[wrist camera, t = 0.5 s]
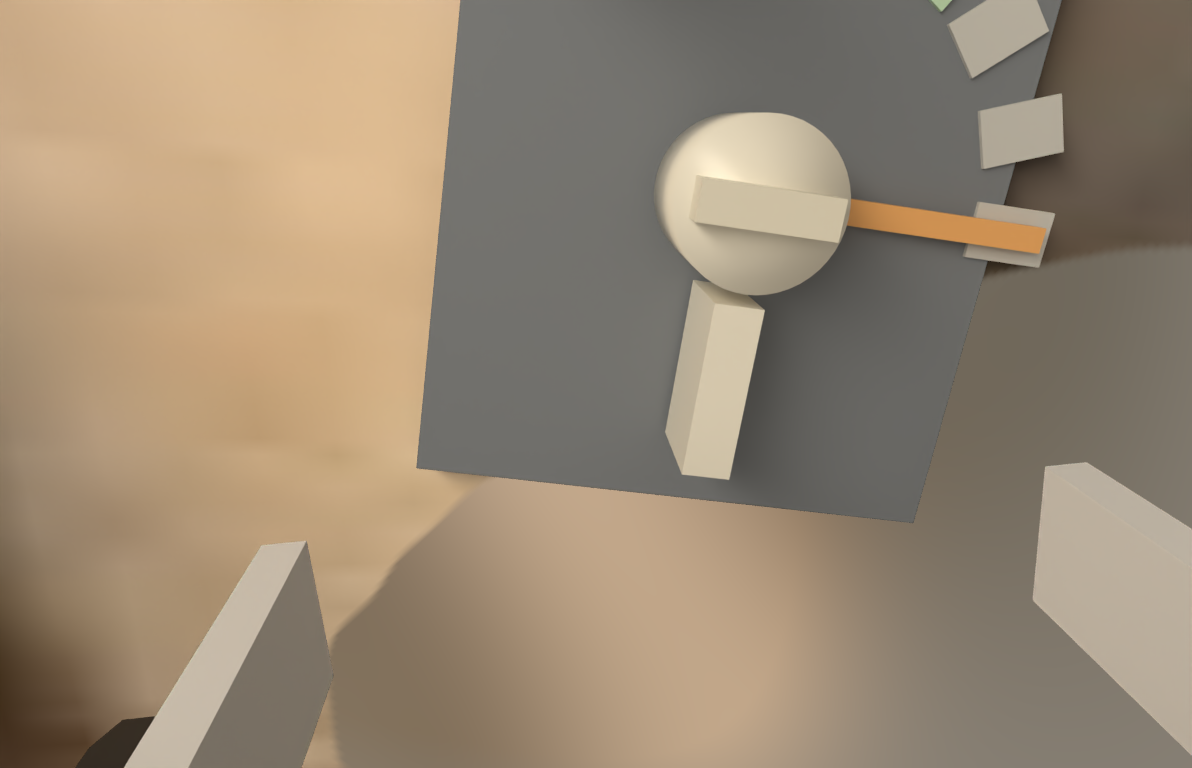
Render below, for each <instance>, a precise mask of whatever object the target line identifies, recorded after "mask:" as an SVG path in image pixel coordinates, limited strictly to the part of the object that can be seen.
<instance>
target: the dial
mask: <svg viewBox="0 0 1192 768" xmlns="http://www.w3.org/2000/svg"><path fill="white" fill-rule="evenodd" d="M654 204H655V211H656V215H657V219H658V222H659V224H660V227H661V229H662V231H663V233H664V234H665V236H666V238H667V239H668V241H669V242H670V243H671V244H672V246H673V247H674V248H675V249H676V250H677V251H678V252H679V253H680V254H681V255H682V256H683V257H684V258H685V259H686V260H687V261H688V262H689V263H690V264H691V265H692V266H693V267H694V268H695V269H696V270H697V271H698V272H699V273H700V274H701V275H703V276H704V277H705V278H706V279H708V280H709V281H711V282H705V281H698V280H693V283H692V289H691V294H690V299H689V305H688V310H687V316H686V321H685V327H684V332H683V338H682V343H681V348H680V354H679V359H678V365H677V370H676V376H675V381H674V387H673V392H672V397H671V403H670V408H669V414H668V419H667V425H666V430H665V433H666V436H667V438H668V441H669V443H670V446H671V448H672V451H673V453H674V456H675V458H676V461H677V463H678V466H679V468H680V471H681V474H682V475H691V476H700V477H709V478H718V479H726V480H729V478H730V473H731V469H732V464H733V459H734V454H735V450H736V445H737V440H738V435H739V431H740V426H741V421H742V416H743V412H744V407H745V402H746V397H747V393H748V388H749V383H750V378H751V374H752V369H753V364H754V359H755V355H756V350H757V345H758V340H759V336H760V331H761V326H762V321H763V317H764V312H765V310H764V309H763V308H762V307H761V306H759V305H758V304H757V303H756V302H755V301H754V300H753V299H751V298H750V297H749V296H748V295H768V294H773V293H778V292H782V291H785V290H788V289H790V288H792V287H795V286H797V285H799V284H801V283H802V282H804V281H805V280H807V279H809V278H810V277H811V276H812V275H814V274H815V273H816V272H817V271H819V270H820V269H821V268H822V267H823V266H824V264H825V263H826V262H827V261H828V260H829V259H830V257H831V256H832V255H833V253H834V252H835V250H836V249H837V247H838V245H839V243H840V242H841V239H842V237H843V235H844V232H845V230H846V226H854V227H860V228H867V229H874V230H881V231H887V232H894V233H901V234H908V235H915V236H921V237H928V238H935V239H942V240H948V241H955V242H962V243H969V244H976V245H982V246H989V247H996V248H1003V249H1010V250H1016V251H1023V252H1030V253H1037V254H1039V253H1040V249H1041V246H1042V243H1043V239H1044V236H1045V233H1046V228H1042V227H1037V226H1030V225H1023V224H1017V223H1010V222H1004V221H997V220H990V219H984V218H977V217H970V216H964V215H957V214H951V213H944V212H937V211H931V210H924V209H918V208H911V207H904V206H898V205H891V204H884V203H878V202H871V201H865V200H858V199H851V190H850V182H849V177H848V173H847V170H846V167H845V164H844V162H843V160H842V158H841V156H840V154H839V152H838V151H837V149H836V148H835V146H834V145H833V144H832V142H831V141H830V140H829V139H828V138H827V137H826V136H825V135H824V134H823V133H822V132H821V131H819V130H818V129H817V128H815V127H814V126H813V125H811V124H809V123H807V122H806V121H804V120H801V119H799V118H796V117H794V116H790V115H785V114H781V113H752V112H735V113H723V114H718V115H714V116H711V117H708V118H705V119H703V120H701V121H699V122H697V123H695V124H693V125H692V126H690V127H689V128H687V129H686V130H685V131H684V132H683V133H682V134H680V135H679V136H678V137H677V139H676V140H675V141H674V142H673V143H672V144H671V146H670V147H669V149H668V150H667V152H666V153H665V155H664V157H663V159H662V161H661V163H660V166H659V169H658V171H657V176H656V180H655V187H654Z"/></svg>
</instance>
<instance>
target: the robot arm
mask: <svg viewBox="0 0 1192 768" xmlns="http://www.w3.org/2000/svg"><path fill="white" fill-rule="evenodd" d="M1033 601H1034V602H1035V603H1036V604H1037V605H1038V606H1039V607H1040V608H1041V609H1042V610H1043V611H1044V612H1045V613H1046V614H1047V615H1048V616H1049V617H1051V619H1052V620H1053V621H1054V622H1055V623H1057V625H1058V626H1060V627H1061V628H1062V629H1063V630H1064V631H1065V632H1066V633H1067V634H1068V635H1069V636H1070V637H1071V638H1072V639H1073V640H1074V641H1075V642H1076V643H1077V644H1078V645H1079V646H1080V647H1081V648H1082V649H1083V650H1084V651H1085V652H1086V653H1087V654H1088V655H1089V656H1090V657H1091V658H1092V659H1093V660H1094V661H1095V662H1096V663H1097V664H1098V665H1099V666H1101V667H1102V668H1103V669H1104V670H1105V671H1106V672H1107V673H1108V674H1109V675H1110V676H1111V677H1112V678H1113V679H1114V680H1115V681H1116V682H1117V683H1118V684H1119V685H1120V686H1121V687H1122V688H1123V689H1124V690H1125V691H1126V692H1127V693H1128V694H1129V695H1130V696H1131V697H1132V698H1133V699H1134V700H1135V701H1137V703H1138V704H1140V705H1141V707H1142V708H1144V709H1145V710H1146V711H1147V712H1148V713H1149V714H1150V715H1151V716H1152V717H1153V718H1154V719H1155V720H1156V721H1157V722H1158V723H1159V724H1160V725H1161V726H1162V727H1163V728H1164V729H1165V730H1166V731H1167V732H1168V733H1169V734H1170V735H1171V736H1172V737H1173V738H1174V739H1175V740H1176V741H1177V742H1178V743H1180V744H1181V746H1182V747H1184V749H1186V751H1188V752H1189V753H1190V754H1191V755H1192V529H1191V528H1189V527H1188V526H1186V525H1185V524H1183V523H1181V522H1180V521H1178V520H1177V519H1175V518H1174V517H1172V516H1171V515H1169V514H1167V513H1166V512H1164V511H1163V510H1161V509H1159V508H1158V507H1156V506H1155V505H1153V504H1151V503H1150V502H1148V501H1147V500H1145V499H1144V498H1142V497H1140V496H1139V495H1137V494H1136V493H1134V492H1133V491H1131V490H1130V489H1128V488H1126V487H1125V486H1123V485H1121V484H1120V483H1118V482H1117V481H1115V480H1114V479H1112V478H1111V477H1109V476H1107V475H1106V474H1104V473H1103V472H1101V471H1100V470H1098V469H1096V468H1095V467H1093V466H1092V465H1090V464H1088V463H1087V462H1086V463H1076V464H1065V465H1055V466H1046V467H1045V475H1044V485H1043V496H1042V506H1041V517H1040V527H1039V538H1038V548H1037V559H1036V569H1035V580H1034V591H1033ZM333 676H334V675H333V670H332V665H331V660H330V655H329V650H328V645H327V640H326V635H325V630H324V625H323V620H322V615H321V610H320V605H319V600H318V595H317V590H316V585H315V580H314V575H313V571H312V566H311V561H310V556H309V551H308V546H307V541H299V542H289V543H279V544H269V545H261V547H260V549H259V550H258V552H257V553H256V555H255V557H254V558H253V560H252V561H251V563H250V565H249V566H248V568H247V570H246V571H245V573H244V574H243V576H242V578H241V579H240V581H239V582H238V584H237V586H236V587H235V589H234V591H233V592H232V594H231V595H230V597H229V599H228V600H227V602H226V603H225V605H224V607H223V608H222V610H221V612H220V613H219V615H218V616H217V618H216V620H215V621H214V623H213V624H212V626H211V628H210V629H209V631H208V633H207V634H206V636H205V637H204V639H203V641H202V642H201V644H200V645H199V647H198V649H197V650H196V652H195V654H194V655H193V657H192V658H191V660H190V662H189V663H188V665H187V666H186V668H185V670H184V671H183V673H182V675H181V676H180V678H179V679H178V681H177V683H176V684H175V686H174V687H173V689H172V691H171V692H170V694H169V696H168V697H167V699H166V700H165V702H164V704H163V705H162V707H161V708H160V710H159V712H158V713H157V715H156V716H154V717H145V718H136V719H127V720H122V721H121V722H120V723H118V724H117V725H116V726H115V727H114V728H112V729H111V730H110V731H109V732H108V733H106V734H105V735H104V736H103V737H102V738H100V739H99V740H98V741H97V742H96V743H95V744H93V745H92V746H91V747H90V748H89V749H88V750H87V752H86V753H85V755H84V756H83V757H82V759H81V760H80V762H79V763H78V765H77V766H76V767H75V768H301V767H302V765H303V762H304V759H305V756H306V753H307V750H308V747H309V745H310V742H311V739H312V736H313V733H314V730H315V727H316V724H317V722H318V719H319V716H320V713H321V710H322V707H323V704H324V702H325V699H326V696H327V693H328V690H329V687H330V684H331V681H332V679H333Z"/></svg>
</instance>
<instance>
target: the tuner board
mask: <svg viewBox="0 0 1192 768" xmlns="http://www.w3.org/2000/svg"><path fill="white" fill-rule="evenodd" d="M1061 1H1062V0H461V1H460V12H459V22H458V33H457V43H456V54H455V65H454V75H453V86H452V96H451V107H450V118H449V128H448V139H447V149H446V160H445V171H444V181H443V192H442V202H441V213H440V224H439V234H438V245H437V255H436V266H435V277H434V287H433V298H432V308H431V319H430V330H429V340H428V351H427V361H426V372H425V383H424V393H423V404H422V414H421V425H420V436H419V446H418V457H417V467H416V468H419V469H428V470H437V471H446V472H455V473H464V474H473V475H483V476H492V477H501V478H510V479H519V480H528V481H537V482H546V483H556V484H564V485H573V486H583V487H591V488H600V489H609V490H619V491H628V492H637V493H646V494H655V495H664V496H674V497H682V498H691V499H700V500H709V501H719V502H727V503H737V504H746V505H755V506H764V507H773V508H782V509H791V510H800V511H810V512H818V513H827V514H836V515H845V516H855V517H863V518H873V519H882V520H891V521H900V522H909V523H913V522H914V519H915V515H916V512H917V508H918V504H919V501H920V498H921V494H922V490H923V487H924V484H925V480H926V476H927V473H928V469H929V466H930V463H931V459H932V456H933V452H934V448H935V445H936V441H937V438H938V434H939V431H940V427H941V424H942V420H943V417H944V413H945V410H946V406H947V403H948V399H949V396H950V392H951V389H952V385H953V381H954V378H955V374H956V371H957V367H958V364H959V360H960V357H961V353H962V350H963V346H964V343H965V339H966V336H967V332H968V329H969V325H970V322H971V318H972V314H973V311H974V307H975V304H976V300H977V297H978V293H979V290H980V286H981V283H982V279H983V276H984V272H985V269H986V265H987V262H988V260H989V261H996V262H1003V263H1009V264H1016V265H1023V266H1030V267H1037V268H1039V266H1040V263H1041V259H1042V256H1043V253H1044V249H1045V246H1046V243H1047V239H1048V236H1049V233H1050V229H1051V226H1052V223H1053V220H1054V216H1055V213H1049V212H1043V211H1036V210H1030V209H1023V208H1017V207H1010V206H1004V202H1005V198H1006V195H1007V191H1008V188H1009V184H1010V181H1011V177H1012V174H1013V170H1014V166H1015V163H1016V162H1019V161H1023V160H1028V159H1033V158H1037V157H1042V156H1047V155H1051V154H1056V153H1061V152H1064V145H1063V112H1062V94H1055V95H1051V96H1046V97H1041V98H1037V99H1034V96H1035V92H1036V89H1037V85H1038V82H1039V78H1040V75H1041V71H1042V68H1043V64H1044V61H1045V57H1046V54H1047V50H1048V47H1049V43H1050V40H1051V36H1052V33H1053V29H1054V26H1055V22H1056V18H1057V15H1058V11H1059V8H1060V4H1061ZM735 112H752V113H781V114H785V115H790V116H794V117H796V118H799V119H801V120H804V121H806V122H807V123H809V124H811V125H813V126H814V127H815V128H817V129H818V130H819V131H821V132H822V133H823V134H824V135H825V136H826V137H827V138H828V139H829V140H830V141H831V142H832V144H833V145H834V146H835V148H836V149H837V151H838V152H839V154H840V156H841V158H842V160H843V162H844V164H845V167H846V170H847V173H848V177H849V182H850V190H851V199H858V200H865V201H871V202H878V203H884V204H891V205H898V206H904V207H911V208H918V209H924V210H931V211H937V212H944V213H951V214H957V215H964V216H970V217H977V218H984V219H990V220H997V221H1004V222H1010V223H1017V224H1023V225H1030V226H1037V227H1042V228H1046V233H1045V236H1044V239H1043V243H1042V246H1041V249H1040V253H1039V254H1037V253H1030V252H1023V251H1016V250H1010V249H1003V248H996V247H989V246H982V245H976V244H969V243H962V242H955V241H948V240H942V239H935V238H928V237H921V236H915V235H908V234H901V233H894V232H887V231H881V230H874V229H867V228H860V227H854V226H846V230H845V232H844V235H843V237H842V239H841V242H840V243H839V245H838V247H837V249H836V250H835V252H834V253H833V255H832V256H831V257H830V259H829V260H828V261H827V262H826V263H825V264H824V266H823V267H822V268H821V269H820V270H819V271H817V272H816V273H815V274H814V275H812V276H811V277H810V278H809V279H807V280H805V281H804V282H802V283H801V284H799V285H797V286H795V287H792V288H790V289H788V290H785V291H782V292H778V293H773V294H768V295H748V296H749V297H750V298H751V299H753V300H754V301H755V302H756V303H757V304H758V305H759V306H761V307H762V308H763V309H764V310H765V312H764V317H763V321H762V326H761V331H760V336H759V340H758V345H757V350H756V355H755V359H754V364H753V369H752V374H751V378H750V383H749V388H748V393H747V397H746V402H745V407H744V412H743V416H742V421H741V426H740V431H739V435H738V440H737V445H736V450H735V454H734V459H733V464H732V469H731V473H730V478H729V480H726V479H718V478H709V477H700V476H691V475H682V474H681V471H680V468H679V466H678V463H677V461H676V458H675V456H674V453H673V451H672V448H671V446H670V443H669V441H668V438H667V436H666V433H665V430H666V425H667V419H668V414H669V408H670V403H671V397H672V392H673V387H674V381H675V376H676V370H677V365H678V359H679V354H680V348H681V343H682V338H683V332H684V327H685V321H686V316H687V310H688V305H689V299H690V294H691V289H692V283H693V280H698V281H705V282H711V281H709V280H708V279H706V278H705V277H704V276H703V275H701V274H700V273H699V272H698V271H697V270H696V269H695V268H694V267H693V266H692V265H691V264H690V263H689V262H688V261H687V260H686V259H685V258H684V257H683V256H682V255H681V254H680V253H679V252H678V251H677V250H676V249H675V248H674V247H673V246H672V244H671V243H670V242H669V241H668V239H667V238H666V236H665V234H664V233H663V231H662V229H661V227H660V224H659V222H658V219H657V215H656V211H655V204H654V187H655V180H656V176H657V171H658V169H659V166H660V163H661V161H662V159H663V157H664V155H665V153H666V152H667V150H668V149H669V147H670V146H671V144H672V143H673V142H674V141H675V140H676V139H677V137H678V136H679V135H680V134H682V133H683V132H684V131H685V130H686V129H687V128H689V127H690V126H692V125H693V124H695V123H697V122H699V121H701V120H703V119H705V118H708V117H711V116H714V115H718V114H723V113H735Z"/></svg>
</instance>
